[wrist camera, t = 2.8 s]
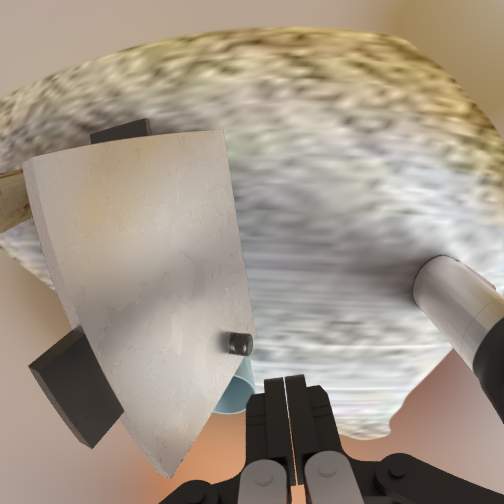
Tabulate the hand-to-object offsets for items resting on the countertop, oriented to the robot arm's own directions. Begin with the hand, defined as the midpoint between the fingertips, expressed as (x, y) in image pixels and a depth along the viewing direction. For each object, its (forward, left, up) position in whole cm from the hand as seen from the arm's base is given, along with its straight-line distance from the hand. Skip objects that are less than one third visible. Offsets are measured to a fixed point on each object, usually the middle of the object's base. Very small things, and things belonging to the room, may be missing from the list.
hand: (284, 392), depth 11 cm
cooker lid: (+7, 0, -9) cm, 11 cm away
